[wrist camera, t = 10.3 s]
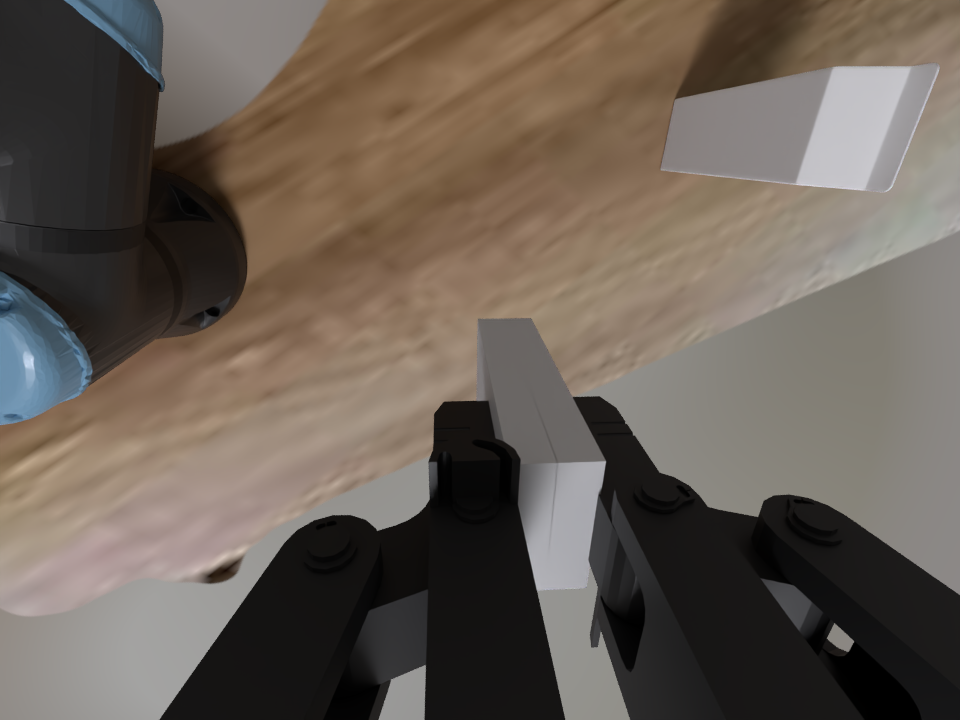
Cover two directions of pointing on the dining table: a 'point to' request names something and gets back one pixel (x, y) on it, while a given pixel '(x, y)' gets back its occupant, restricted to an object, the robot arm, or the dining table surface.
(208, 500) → the dining table surface
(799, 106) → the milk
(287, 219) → the dining table surface
